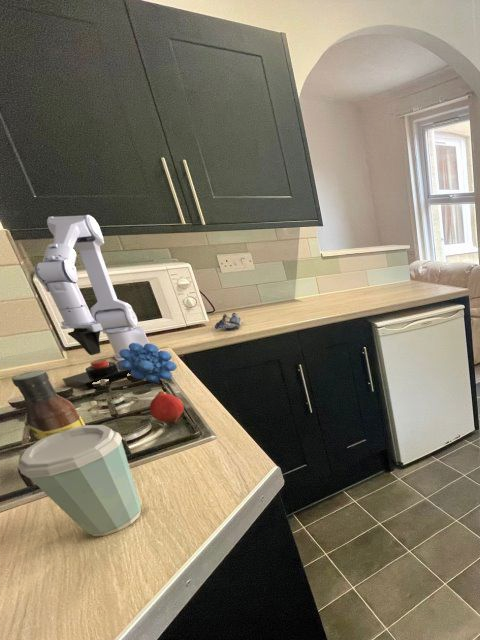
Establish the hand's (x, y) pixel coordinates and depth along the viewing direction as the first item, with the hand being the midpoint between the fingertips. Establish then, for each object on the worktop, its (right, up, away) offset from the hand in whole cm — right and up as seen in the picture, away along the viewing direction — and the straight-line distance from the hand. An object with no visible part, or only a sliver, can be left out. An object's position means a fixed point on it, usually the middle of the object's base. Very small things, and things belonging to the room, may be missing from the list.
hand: (95, 353), depth 119 cm
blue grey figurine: (+6, +14, +51) cm, 53 cm away
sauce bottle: (+39, -25, -41) cm, 62 cm away
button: (0, -4, +2) cm, 4 cm away
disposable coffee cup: (+58, -30, -55) cm, 85 cm away
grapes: (+19, -9, -2) cm, 21 cm away
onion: (+42, -18, -24) cm, 52 cm away
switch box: (0, -7, +3) cm, 8 cm away
